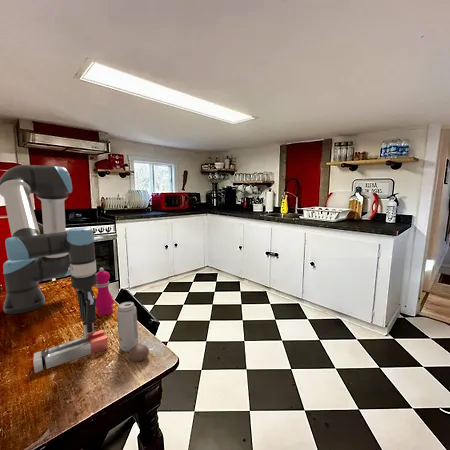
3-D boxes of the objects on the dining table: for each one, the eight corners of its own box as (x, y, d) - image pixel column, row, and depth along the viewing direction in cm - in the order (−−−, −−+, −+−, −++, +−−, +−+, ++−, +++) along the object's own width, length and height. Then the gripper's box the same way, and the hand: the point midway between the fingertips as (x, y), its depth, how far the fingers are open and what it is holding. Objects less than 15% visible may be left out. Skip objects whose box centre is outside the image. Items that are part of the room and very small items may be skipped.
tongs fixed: (34, 373, 74) (32, 359, 73) (35, 363, 78) (33, 350, 77) (108, 348, 85) (107, 335, 84) (105, 341, 89) (104, 329, 88)
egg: (125, 360, 79) (124, 348, 78) (141, 350, 84) (140, 339, 83) (137, 367, 75) (136, 355, 75) (153, 357, 80) (152, 345, 80)
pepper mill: (107, 316, 106) (103, 270, 103) (92, 315, 107) (87, 270, 105) (117, 308, 113) (114, 265, 110) (103, 307, 114) (99, 264, 112)
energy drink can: (120, 343, 87) (117, 302, 85) (138, 340, 89) (136, 299, 87) (118, 354, 82) (115, 310, 80) (138, 350, 83) (135, 307, 81)
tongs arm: (50, 362, 78) (48, 350, 78) (49, 358, 80) (48, 347, 79) (105, 341, 88) (104, 331, 88) (103, 339, 90) (102, 329, 89)
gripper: (65, 272, 86) (72, 336, 90) (77, 281, 77) (83, 352, 80) (89, 267, 92) (94, 328, 95) (102, 275, 82) (107, 342, 86)
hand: (89, 339), depth 88 cm, fingers closed
